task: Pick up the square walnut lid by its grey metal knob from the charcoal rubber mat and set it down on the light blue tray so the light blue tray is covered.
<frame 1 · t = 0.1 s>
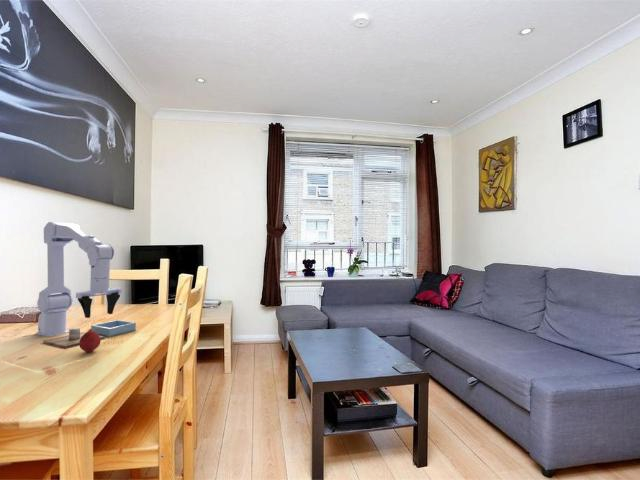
hand: (99, 315, 121), 10 cm above the table, tool pointing down, fingers open, 7 cm apart
mat: (74, 341, 122), on the table
light blue tray: (113, 332, 135), on the table
onion: (89, 353, 111), on the table
lid: (74, 340, 122), resting on mat
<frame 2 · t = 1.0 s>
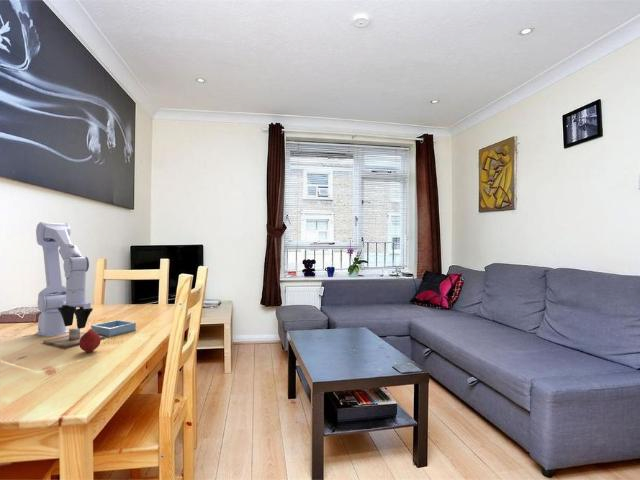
hand: (74, 326, 122), 5 cm above the table, tool pointing down, fingers open, 7 cm apart
nothing on the table moved.
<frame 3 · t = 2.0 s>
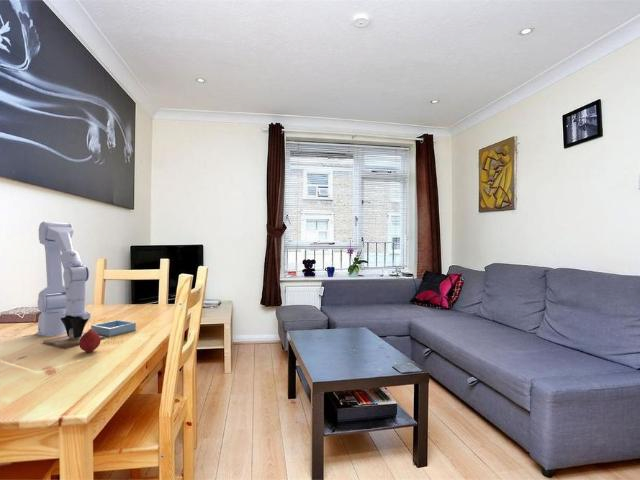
hand: (74, 336, 122), 2 cm above the table, tool pointing down, fingers closed on lid, 3 cm apart
lid: (74, 340, 122), resting on mat, touching gripper
everything else where it was.
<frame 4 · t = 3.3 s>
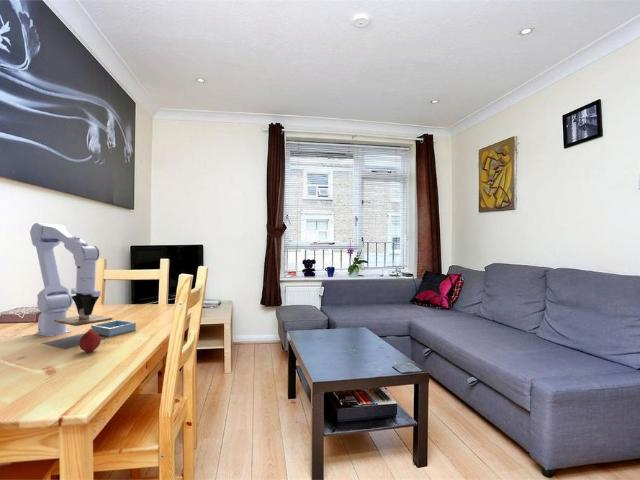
hand: (84, 314, 125), 9 cm above the table, tool pointing down, fingers closed on lid, 3 cm apart
lid: (83, 320, 125), point 7 cm above the table, touching gripper
everything else where it was.
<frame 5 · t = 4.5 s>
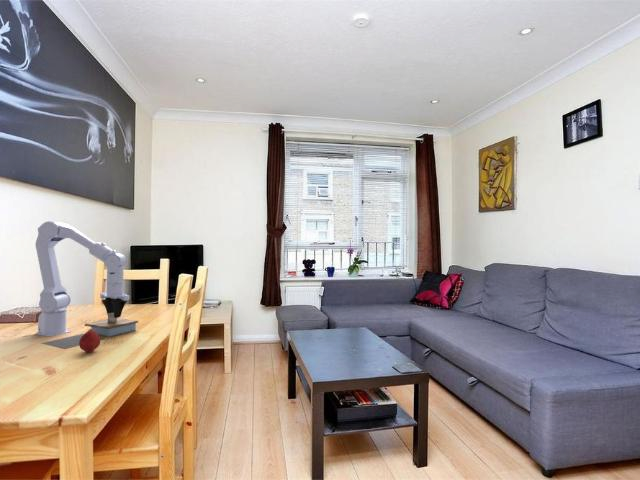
hand: (114, 316, 135), 6 cm above the table, tool pointing down, fingers closed on lid, 3 cm apart
lid: (112, 324, 134), point 4 cm above the table, touching gripper
everything else where it was.
when the fingers open (6 cm above the table, at t = 4.9 s): lid stays where it is, resting on light blue tray.
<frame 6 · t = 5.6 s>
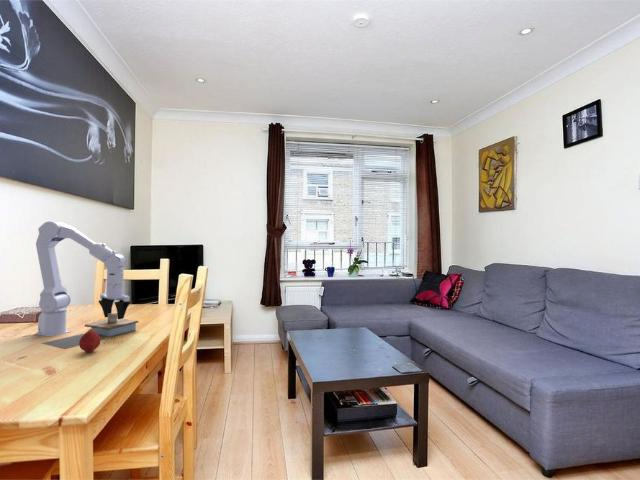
hand: (114, 317, 135), 6 cm above the table, tool pointing down, fingers open, 7 cm apart
lid: (112, 324, 134), point 3 cm above the table, touching light blue tray
everything else where it was.
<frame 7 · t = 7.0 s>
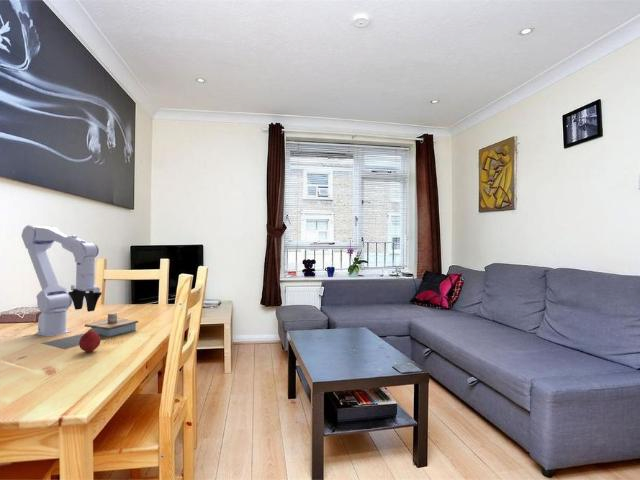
hand: (84, 310, 128), 10 cm above the table, tool pointing down, fingers open, 7 cm apart
nothing on the table moved.
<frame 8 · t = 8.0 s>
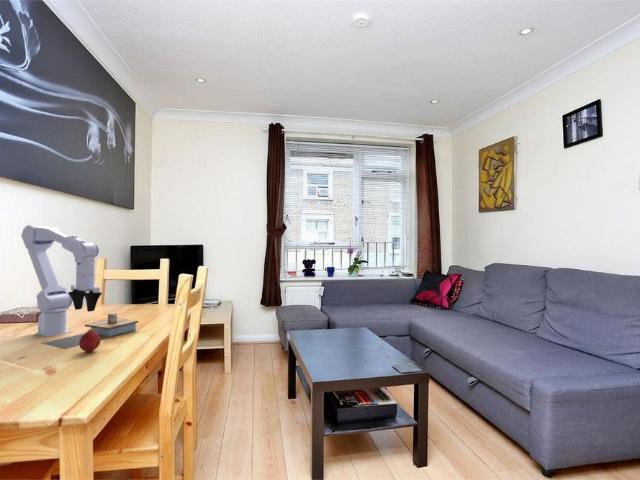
hand: (84, 310, 128), 10 cm above the table, tool pointing down, fingers open, 7 cm apart
nothing on the table moved.
at the end: lid 0.8 cm off-centre on the light blue tray, point 3.5 cm above the light blue tray's base; lid tilted 0°; the gripper is holding nothing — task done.
